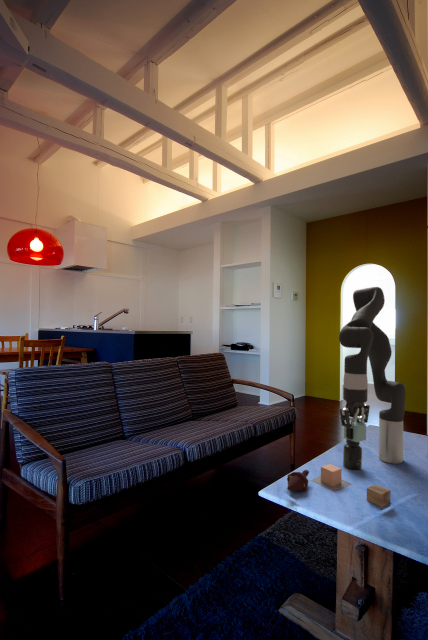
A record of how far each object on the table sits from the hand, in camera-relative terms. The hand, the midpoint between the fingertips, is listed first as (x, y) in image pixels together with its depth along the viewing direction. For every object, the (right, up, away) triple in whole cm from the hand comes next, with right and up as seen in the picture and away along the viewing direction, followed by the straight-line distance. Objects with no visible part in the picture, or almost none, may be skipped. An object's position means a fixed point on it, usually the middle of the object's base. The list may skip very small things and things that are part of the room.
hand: (354, 437), depth 118 cm
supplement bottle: (+8, -20, +21) cm, 30 cm away
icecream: (-19, -19, +1) cm, 27 cm away
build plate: (-6, -19, +7) cm, 21 cm away
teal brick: (0, 0, 0) cm, 0 cm away
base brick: (-6, -18, +7) cm, 20 cm away
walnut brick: (+5, -19, -6) cm, 21 cm away
